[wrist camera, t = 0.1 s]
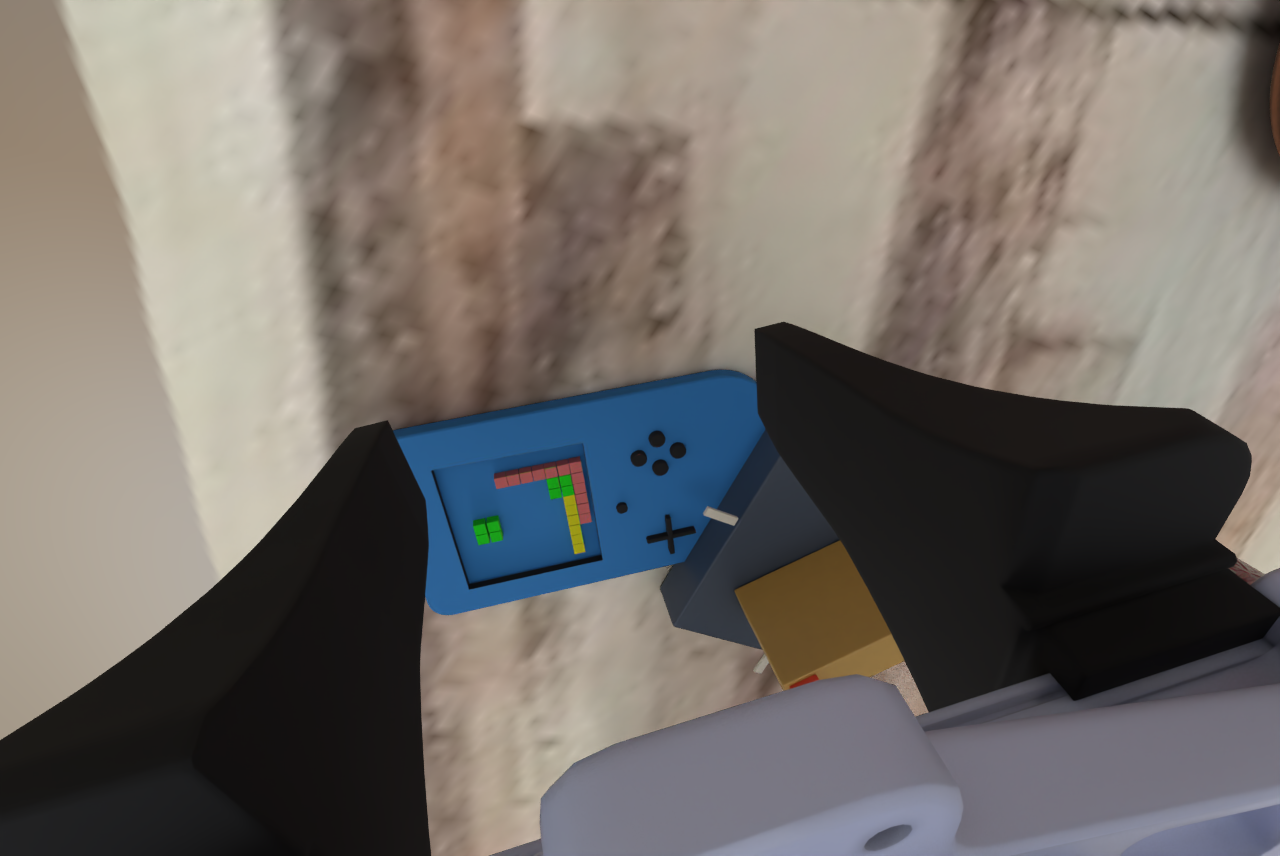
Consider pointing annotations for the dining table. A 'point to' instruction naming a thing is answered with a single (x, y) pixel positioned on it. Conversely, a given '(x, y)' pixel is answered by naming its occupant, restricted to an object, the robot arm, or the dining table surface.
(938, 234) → the dining table surface
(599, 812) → the robot arm
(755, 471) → the frame stand
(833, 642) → the tan rectangular block
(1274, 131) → the cup and saucer
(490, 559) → the handheld gaming device
